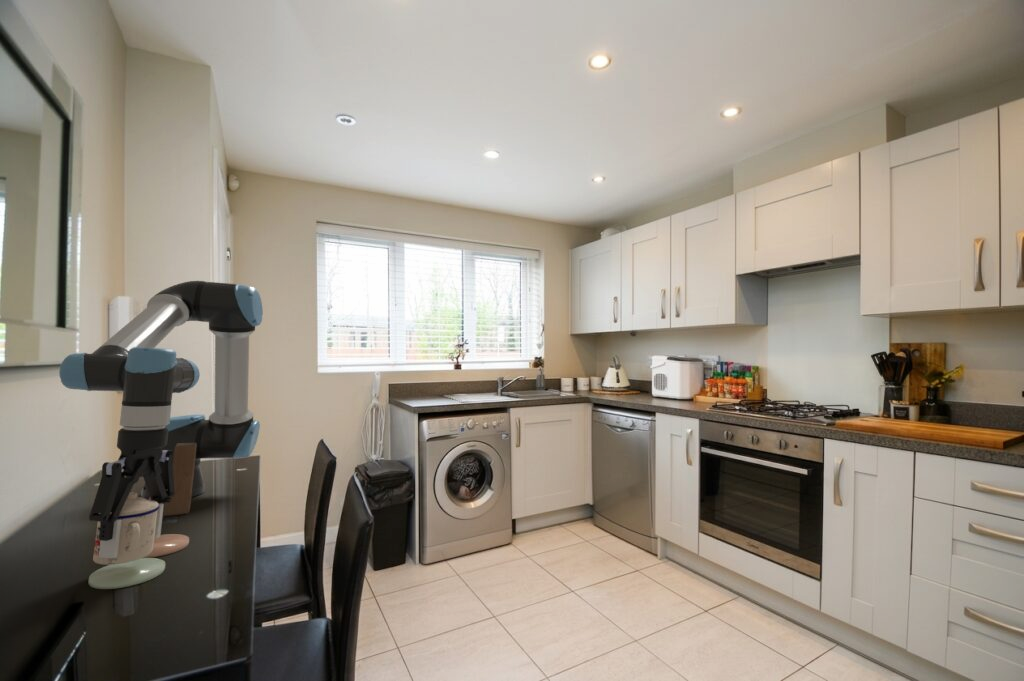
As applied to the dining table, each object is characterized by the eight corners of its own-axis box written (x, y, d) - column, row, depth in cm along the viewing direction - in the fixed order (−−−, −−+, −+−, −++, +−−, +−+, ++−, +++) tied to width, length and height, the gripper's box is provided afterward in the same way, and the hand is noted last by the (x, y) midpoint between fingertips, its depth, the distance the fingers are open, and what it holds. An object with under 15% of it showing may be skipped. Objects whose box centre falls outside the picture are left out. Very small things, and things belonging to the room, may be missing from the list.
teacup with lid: (87, 555, 83) (95, 492, 84) (148, 542, 90) (155, 484, 91) (97, 576, 76) (106, 506, 77) (163, 561, 83) (170, 497, 84)
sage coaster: (124, 560, 89) (125, 556, 89) (178, 563, 89) (179, 559, 89) (70, 587, 78) (71, 582, 78) (132, 590, 78) (132, 586, 78)
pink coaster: (153, 536, 102) (153, 532, 102) (200, 539, 102) (201, 535, 102) (109, 556, 91) (110, 552, 91) (162, 559, 91) (163, 555, 91)
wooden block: (145, 518, 112) (152, 446, 113) (147, 513, 116) (155, 443, 117) (188, 514, 117) (195, 445, 118) (190, 509, 121) (196, 442, 122)
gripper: (168, 419, 97) (157, 525, 95) (69, 434, 75) (52, 570, 73) (203, 421, 97) (192, 527, 95) (113, 436, 75) (97, 573, 73)
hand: (131, 546), depth 84 cm, fingers closed on teacup with lid, 9 cm apart
